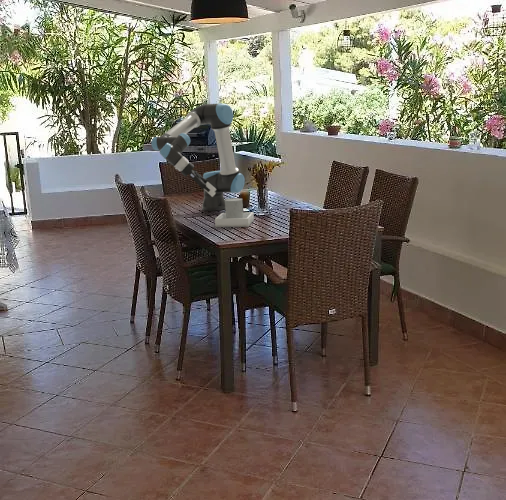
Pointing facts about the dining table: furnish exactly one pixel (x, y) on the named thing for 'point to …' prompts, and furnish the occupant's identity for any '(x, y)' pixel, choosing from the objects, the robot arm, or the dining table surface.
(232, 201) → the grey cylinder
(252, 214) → the white square tray
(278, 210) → the dining table surface
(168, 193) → the dining table surface
